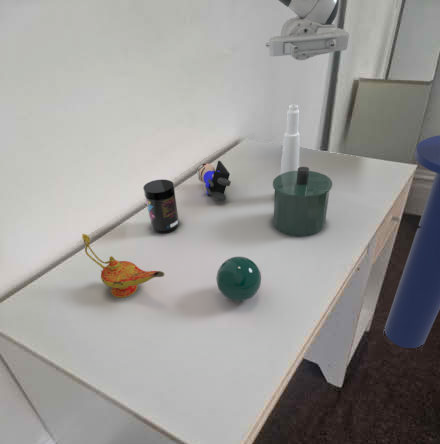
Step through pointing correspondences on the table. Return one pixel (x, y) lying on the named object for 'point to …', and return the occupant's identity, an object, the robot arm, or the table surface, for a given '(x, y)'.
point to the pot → (300, 214)
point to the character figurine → (214, 180)
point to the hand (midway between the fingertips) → (314, 48)
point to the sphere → (238, 278)
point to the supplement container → (162, 205)
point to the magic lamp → (121, 274)
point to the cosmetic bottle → (291, 141)
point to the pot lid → (302, 183)
